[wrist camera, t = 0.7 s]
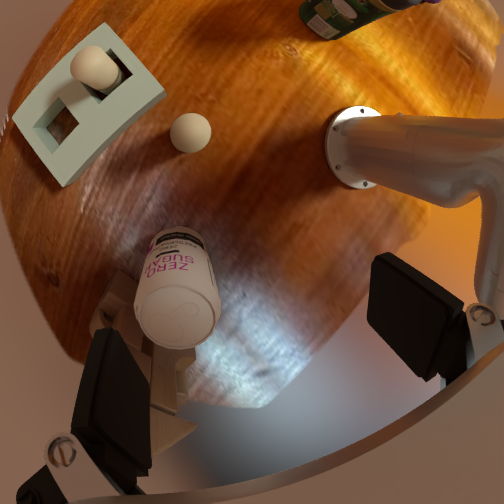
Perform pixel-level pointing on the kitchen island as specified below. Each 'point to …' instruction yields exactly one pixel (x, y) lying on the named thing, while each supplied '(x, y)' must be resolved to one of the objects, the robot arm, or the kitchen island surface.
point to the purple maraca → (432, 1)
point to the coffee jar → (347, 14)
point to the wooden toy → (149, 362)
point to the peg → (190, 133)
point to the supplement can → (177, 290)
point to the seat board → (87, 103)
